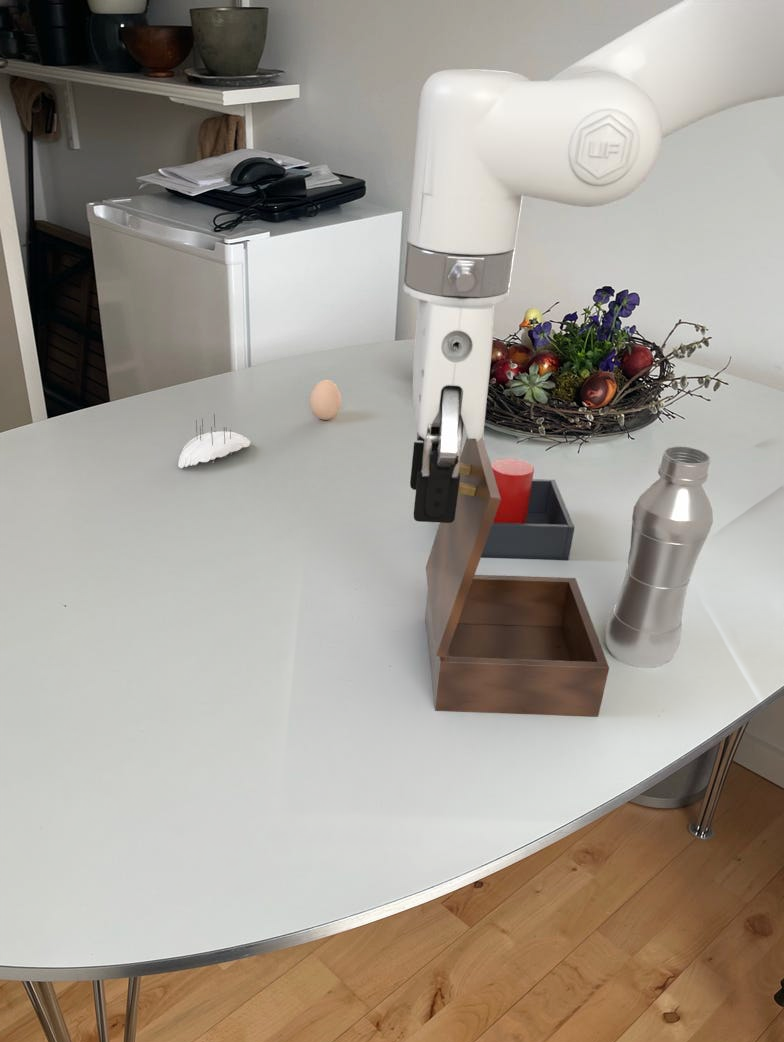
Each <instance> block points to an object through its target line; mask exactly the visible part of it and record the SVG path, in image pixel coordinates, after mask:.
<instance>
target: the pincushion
mask: <svg viewBox="0 0 784 1042" xmlns="http://www.w3.org/2000/svg"><path fill="white" fill-rule="evenodd" d="M215 415H216V414H213V421H214V422H213V423H214V425H213V426H211V428H210V429H211V430H213V427H216V419H215ZM203 420H204V419H201V426H202V427H201V428H202V431H204V421H203ZM197 424H198V423H197V421H195V429H196V432H198V425H197ZM201 428H199V435H196V436H195V437H194V438H192V439H190V440H189V441H187V443H185V445H184V447H183V448H182V450H181V453H180V455H179V457H178V462H177V467H178V468H179V469H183V468H184V467H185V468H187V467H189V466H192V467H193V466H196V465H198V464H199V463H208V462H210V460H211V461H212V464H214V463H215V459H216V458H223V457H224V458H227V455H229V454H230V455H232V453H233V452H239V450H241V449H243V448H244V449H245V448H248V447H250V445H251V443H252V441H251V440H250V439H249V438H247V437H246V436H244V435H242V434H239V433H237V432H234V431H230V430H226V428H223V430H222V431H221V430H220V431H211V432H206V433H201Z"/></svg>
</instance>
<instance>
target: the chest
mask: <svg viewBox="0 0 784 1042" xmlns="http://www.w3.org/2000/svg"><path fill="white" fill-rule="evenodd" d="M426 594H427V595H426V605H425V612H424V613H425V614H424V621H425V630H426V640H427V648H428V657H429V667H430V676H431V685H432V695H433V704H434V705H433V706H434V711H435V712H451V713H452V712H453V713H477V714H503V715H504V714H506V715H530V716H531V715H533V716H558V717H583V718H584V717H585V718H598V717H599V715H600V710H601V706H602V702H603V697H604V693H605V688H606V684H607V680H608V675H609V670H610V666H609V663H608V660H607V658H606V655H605V653H604V650H603V647H602V645H601V641H600V639H599V636H598V634H597V631H596V628H595V626H594V623H593V620H592V618H591V615H590V613H589V610H588V608H587V605H586V602H585V599H584V597H583V594H582V591H581V588H580V586H579V584H578V581H577V579H576V577H556V576H553V577H552V576H529V575H527V576H525V575H500V574H499V575H497V574H495V575H494V574H475V575H474V578H473V581H472V584H471V587H470V589H469V592H468V595H467V598H466V601H465V604H464V607H463V609H462V612H461V615H460V618H459V621H458V624H457V627H456V629H455V632H454V635H453V638H452V641H451V644H450V647H449V650H448V652H447V655H446V658H444V657H439V656H436V649H435V641H434V633H433V624H432V616H431V608H430V599H429V591H428V590H427V592H426Z"/></svg>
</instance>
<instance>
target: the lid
mask: <svg viewBox="0 0 784 1042" xmlns="http://www.w3.org/2000/svg"><path fill="white" fill-rule="evenodd" d="M432 453H433V452H431V454H432ZM491 464H492V462H491V460H490V457H489V453H488V449H487V446H486V443H485V439H484V436H483V437H482V438H481V439H480V440H479V441H478V442H473V439H468V437H467V436H466V438H465V441H464V445H463V448H462V450H461V458H460V469H459V473H460V482H459V489H458V497H457V505H456V512H455V519H454V521H453V522H451V523H440V522H439V524H438V527H437V531H436V533H435V537H434V539H433V543H432V547H431V549H430V552H429V556H428V558H427V562H426V566H425V573H426V581H427V582H426V583H427V592H428V591H429V599H430V608H431V616H432V624H433V633H434V641H435V649H436V656H439V657H444V658H446V655H447V652H448V650H449V647H450V644H451V641H452V638H453V635H454V632H455V629H456V627H457V624H458V621H459V618H460V615H461V612H462V609H463V607H464V604H465V601H466V598H467V595H468V592H469V589H470V587H471V584H472V581H473V578H474V575H476V572H477V569H478V567H479V563H480V560H481V559H482V558H481V555H482V552H483V549H484V547H485V544H486V541H487V538H488V535H489V532H490V529H491V526H492V524H493V521H494V518H495V515H496V512H497V509H498V506H499V504H500V501H501V498H500V494H499V491H498V487H497V484H496V480H495V477H494V473H493V470H492V467H491Z"/></svg>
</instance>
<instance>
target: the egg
mask: <svg viewBox="0 0 784 1042" xmlns="http://www.w3.org/2000/svg"><path fill="white" fill-rule="evenodd" d="M309 404H310V405H309V406H310V409H311V411H312V413H313V414H314V415H315V416H316V418H318V419H320V420H324V421H326V420H327V421H328V420H331V419H333V418H334V417H335V416H336V415H338V413H339V412H340V409H341V407H342V395H341V392H340V390H339V387H338V386H337V385H336V384H335V382H333V381H332V380H329V379H322V380H320V381H319V382H317V384H315V386H314V387H313V389H312V391H311V394H310V399H309Z"/></svg>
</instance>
